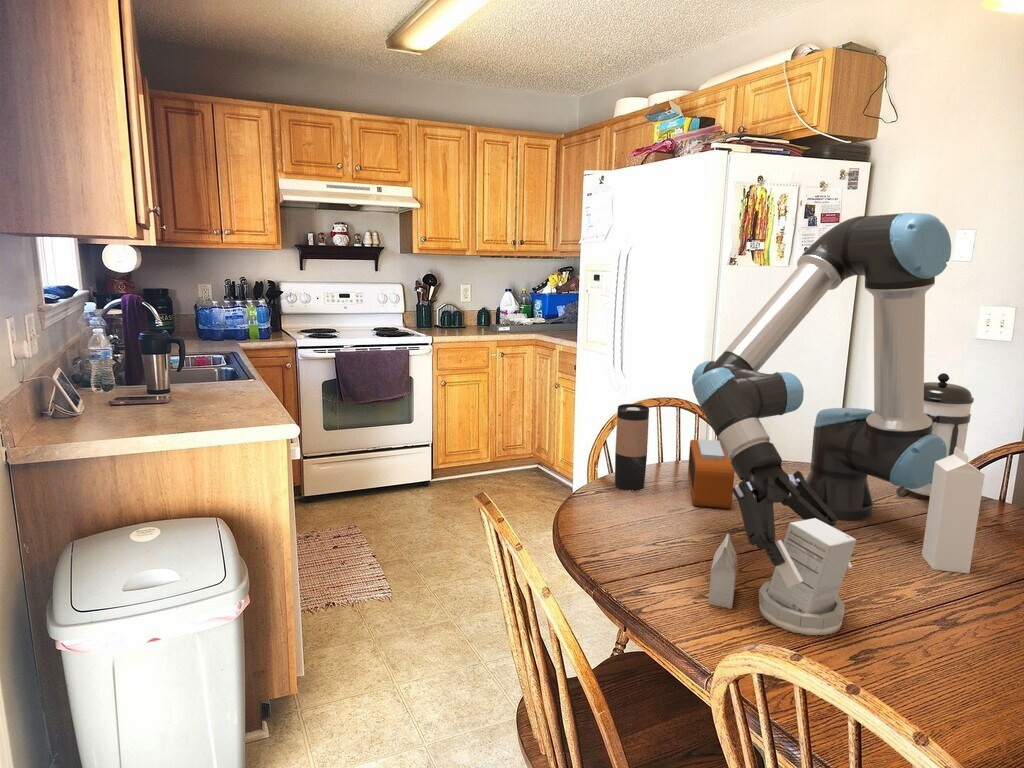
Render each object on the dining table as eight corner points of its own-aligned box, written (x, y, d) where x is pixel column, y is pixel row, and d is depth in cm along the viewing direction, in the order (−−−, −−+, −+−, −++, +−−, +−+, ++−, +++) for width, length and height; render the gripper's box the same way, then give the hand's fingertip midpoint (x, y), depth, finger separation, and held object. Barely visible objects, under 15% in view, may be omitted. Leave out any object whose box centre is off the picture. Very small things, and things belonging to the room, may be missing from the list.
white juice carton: (708, 604, 107) (712, 546, 106) (712, 585, 114) (716, 530, 112) (731, 608, 106) (736, 550, 104) (734, 589, 112) (739, 534, 110)
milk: (932, 570, 121) (948, 454, 117) (921, 556, 127) (935, 445, 123) (970, 574, 119) (987, 456, 115) (957, 559, 125) (973, 447, 121)
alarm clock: (687, 475, 173) (690, 433, 171) (720, 477, 171) (724, 435, 169) (692, 508, 150) (696, 459, 148) (731, 511, 148) (735, 462, 146)
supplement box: (792, 585, 109) (815, 516, 106) (833, 611, 103) (859, 539, 100) (765, 592, 105) (788, 521, 102) (805, 620, 99) (831, 545, 96)
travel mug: (643, 481, 166) (647, 404, 163) (646, 492, 159) (651, 411, 155) (612, 480, 167) (616, 403, 163) (614, 490, 160) (618, 410, 156)
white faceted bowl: (827, 599, 110) (829, 582, 109) (853, 639, 98) (855, 620, 97) (752, 592, 111) (753, 576, 111) (768, 631, 100) (770, 613, 99)
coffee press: (875, 484, 168) (890, 367, 162) (939, 485, 167) (956, 368, 162) (914, 509, 151) (932, 380, 145) (985, 511, 150) (1006, 381, 145)
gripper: (784, 454, 119) (852, 571, 108) (686, 470, 109) (751, 601, 98) (812, 432, 114) (887, 554, 103) (711, 447, 104) (783, 584, 93)
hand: (820, 577), depth 101 cm, fingers open, 10 cm apart
